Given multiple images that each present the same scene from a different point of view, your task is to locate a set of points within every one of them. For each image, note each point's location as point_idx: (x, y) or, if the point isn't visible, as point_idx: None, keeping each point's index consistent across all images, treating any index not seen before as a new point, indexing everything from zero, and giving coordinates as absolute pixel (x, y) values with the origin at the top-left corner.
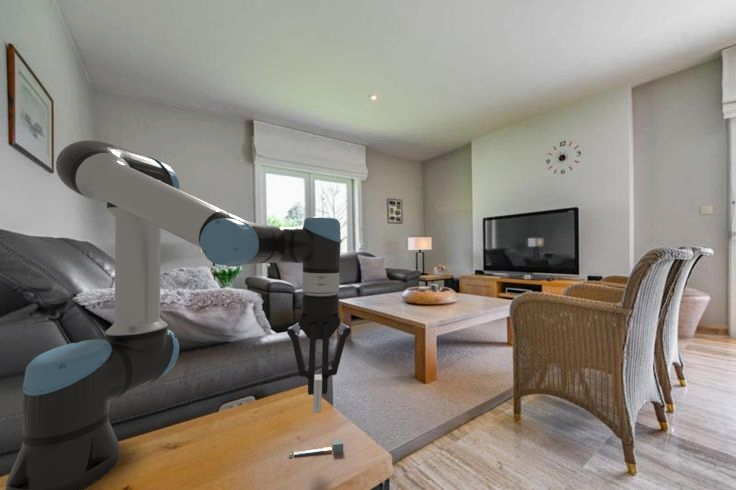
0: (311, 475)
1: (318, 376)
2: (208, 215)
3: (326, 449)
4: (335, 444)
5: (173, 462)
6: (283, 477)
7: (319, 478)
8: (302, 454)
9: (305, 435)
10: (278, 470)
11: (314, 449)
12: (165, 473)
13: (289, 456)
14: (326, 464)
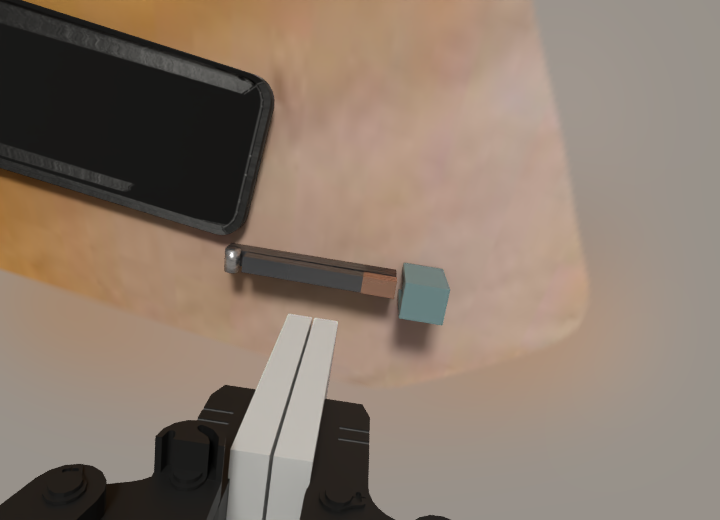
0: None
1: (271, 499)
2: None
3: (373, 289)
4: (409, 318)
5: None
6: (214, 314)
7: None
8: (276, 276)
9: (313, 79)
10: (196, 274)
11: (325, 270)
12: None
13: (224, 270)
14: (369, 302)
